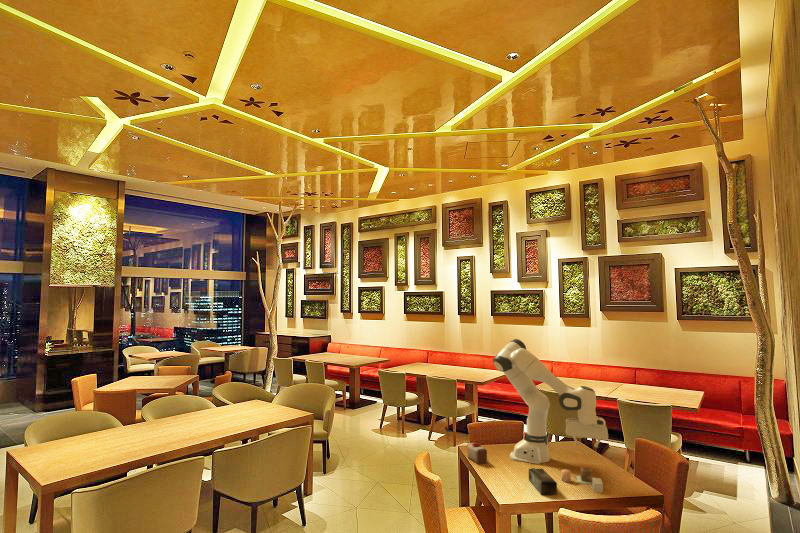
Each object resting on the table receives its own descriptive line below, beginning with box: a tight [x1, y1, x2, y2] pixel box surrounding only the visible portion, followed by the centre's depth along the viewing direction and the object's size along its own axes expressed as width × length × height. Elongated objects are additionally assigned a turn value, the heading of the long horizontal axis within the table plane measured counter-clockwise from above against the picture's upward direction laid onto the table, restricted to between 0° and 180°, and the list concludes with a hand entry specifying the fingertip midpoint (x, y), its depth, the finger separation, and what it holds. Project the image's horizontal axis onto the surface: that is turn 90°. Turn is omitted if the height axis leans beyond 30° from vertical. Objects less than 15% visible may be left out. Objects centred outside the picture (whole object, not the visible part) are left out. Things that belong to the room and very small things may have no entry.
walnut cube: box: [579, 466, 593, 482], centre depth 231 cm, size 5×5×5 cm
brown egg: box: [561, 468, 572, 484], centre depth 231 cm, size 4×4×5 cm
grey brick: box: [591, 477, 604, 493], centre depth 221 cm, size 8×4×4 cm, turn 163°
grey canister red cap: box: [466, 442, 488, 465], centre depth 260 cm, size 14×8×10 cm, turn 21°
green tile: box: [575, 475, 595, 486], centre depth 231 cm, size 9×9×1 cm
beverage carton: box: [528, 467, 558, 496], centre depth 223 cm, size 8×19×7 cm, turn 2°
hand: (586, 446), depth 233 cm, fingers open, 8 cm apart
